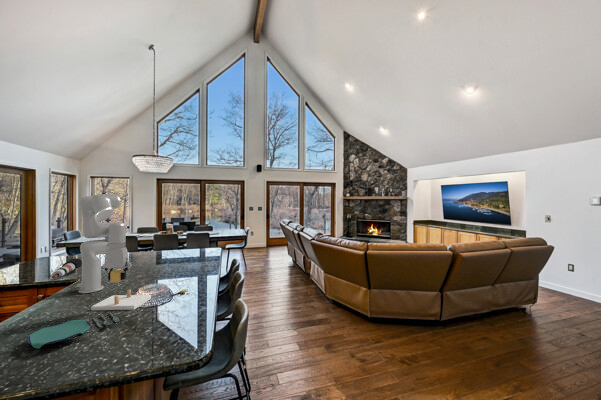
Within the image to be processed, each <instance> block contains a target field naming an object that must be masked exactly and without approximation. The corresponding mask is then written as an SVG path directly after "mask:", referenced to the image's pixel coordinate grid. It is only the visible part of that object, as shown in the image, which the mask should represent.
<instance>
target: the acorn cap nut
mask: <svg viewBox="0 0 601 400" xmlns="http://www.w3.org/2000/svg"><path fill="white" fill-rule="evenodd" d="M121 273H122V272H121V269H120V268H115V269H113V270H112V271H111V272H110V281H109V282H110V283H119V282H123V281H124V280H121Z"/></svg>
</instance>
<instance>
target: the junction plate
mask: <svg viewBox="0 0 601 400" xmlns="http://www.w3.org/2000/svg"><path fill="white" fill-rule="evenodd" d="M151 299H152V294H132V289H126V294H125V295H124V294H121V295H120V294H119V295H117V294H116V295H111V296H109V297H107V298H105V299H103V300H101V301H99V302H97V303H95V304H93V305H92V306H90V310H91V311H120V310H121V311H123V310H126V311H128V310H136V309H137V308H139V307H140V306H142V305H143V304H144V303H146V302H147V301H149V300H151Z"/></svg>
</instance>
